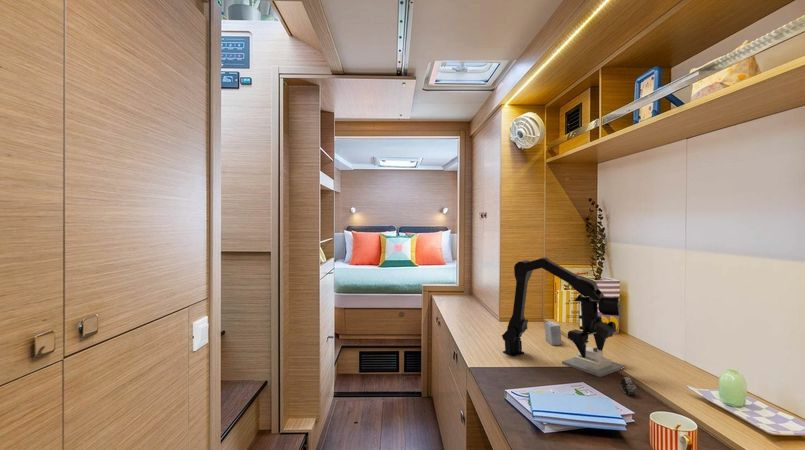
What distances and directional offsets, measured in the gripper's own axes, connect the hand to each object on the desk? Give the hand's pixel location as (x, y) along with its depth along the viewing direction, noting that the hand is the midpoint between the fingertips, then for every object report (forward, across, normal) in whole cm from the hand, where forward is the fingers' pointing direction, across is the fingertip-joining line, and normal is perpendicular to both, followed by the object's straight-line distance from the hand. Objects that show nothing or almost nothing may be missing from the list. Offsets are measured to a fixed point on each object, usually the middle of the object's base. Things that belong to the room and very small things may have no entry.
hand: (592, 355), depth 143 cm
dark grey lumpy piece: (+4, -11, -21) cm, 24 cm away
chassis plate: (+4, 0, 0) cm, 4 cm away
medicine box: (+4, +11, +28) cm, 30 cm away
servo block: (+3, 0, 0) cm, 3 cm away
